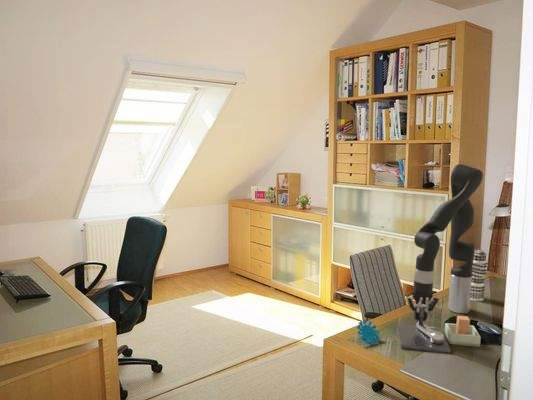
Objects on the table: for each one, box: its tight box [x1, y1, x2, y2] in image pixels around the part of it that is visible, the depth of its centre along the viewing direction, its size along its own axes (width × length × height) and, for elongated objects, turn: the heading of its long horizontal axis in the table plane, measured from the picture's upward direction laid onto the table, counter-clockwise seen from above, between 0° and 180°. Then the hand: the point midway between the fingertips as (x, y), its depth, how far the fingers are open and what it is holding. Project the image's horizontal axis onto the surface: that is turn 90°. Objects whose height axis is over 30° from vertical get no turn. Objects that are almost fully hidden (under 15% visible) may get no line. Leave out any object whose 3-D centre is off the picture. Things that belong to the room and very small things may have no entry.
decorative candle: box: [470, 249, 488, 302], centre depth 225 cm, size 9×9×25 cm
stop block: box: [455, 315, 471, 335], centre depth 177 cm, size 4×4×8 cm
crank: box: [415, 306, 445, 344], centre depth 176 cm, size 16×5×9 cm, turn 11°
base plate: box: [395, 323, 452, 354], centre depth 177 cm, size 20×18×2 cm
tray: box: [444, 322, 481, 347], centre depth 177 cm, size 11×11×4 cm
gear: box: [356, 319, 382, 346], centre depth 175 cm, size 11×6×10 cm
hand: (420, 319), depth 183 cm, fingers closed on crank, 2 cm apart
